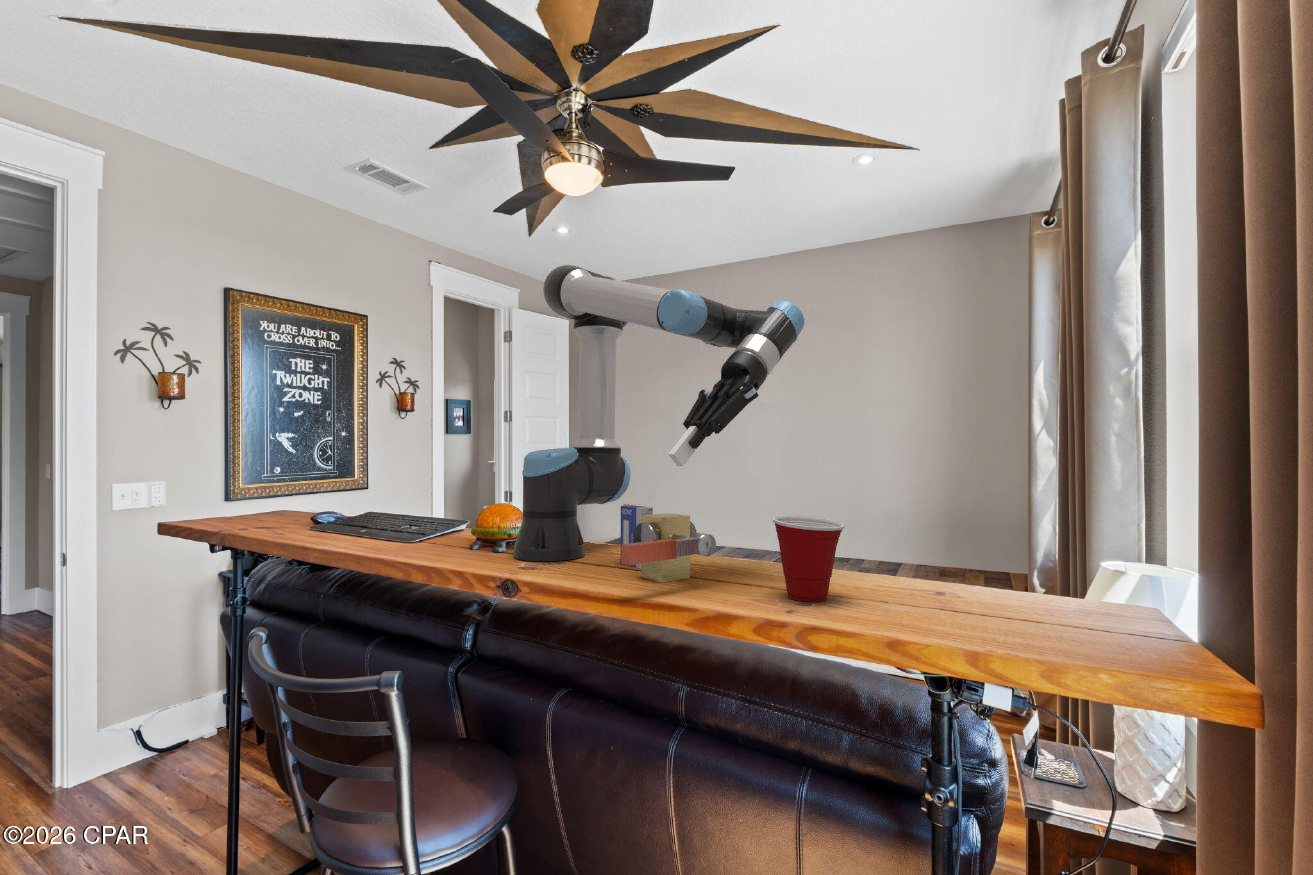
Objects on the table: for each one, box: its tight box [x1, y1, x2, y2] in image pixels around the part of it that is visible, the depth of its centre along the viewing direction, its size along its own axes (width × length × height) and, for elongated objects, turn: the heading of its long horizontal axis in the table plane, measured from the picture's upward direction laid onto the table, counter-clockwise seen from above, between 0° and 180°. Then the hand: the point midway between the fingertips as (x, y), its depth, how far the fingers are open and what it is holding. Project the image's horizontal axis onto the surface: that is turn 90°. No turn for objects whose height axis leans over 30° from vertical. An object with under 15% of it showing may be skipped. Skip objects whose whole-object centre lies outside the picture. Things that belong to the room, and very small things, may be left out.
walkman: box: [619, 503, 654, 570], centre depth 115 cm, size 8×3×12 cm, turn 35°
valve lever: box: [620, 532, 717, 566], centre depth 91 cm, size 2×4×17 cm
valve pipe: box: [633, 512, 698, 583], centre depth 101 cm, size 11×10×11 cm
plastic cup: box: [772, 515, 846, 603], centre depth 88 cm, size 11×11×12 cm
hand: (675, 460), depth 92 cm, fingers closed
